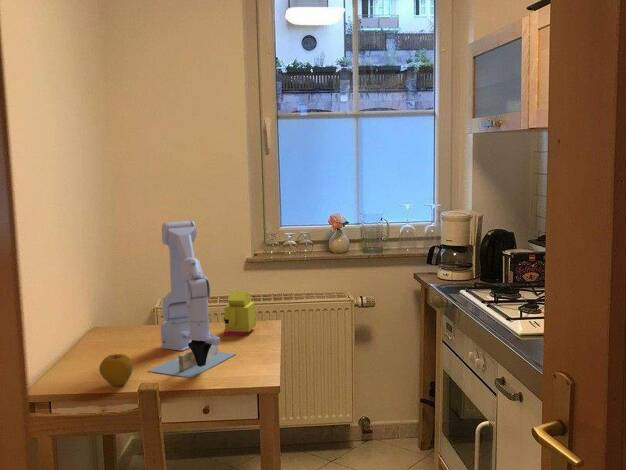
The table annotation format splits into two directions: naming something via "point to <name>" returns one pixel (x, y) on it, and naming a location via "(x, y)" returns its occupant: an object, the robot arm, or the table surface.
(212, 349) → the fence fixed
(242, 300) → the toy
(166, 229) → the robot arm
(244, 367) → the table surface
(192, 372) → the mat
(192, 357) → the fence panel
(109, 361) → the apple
